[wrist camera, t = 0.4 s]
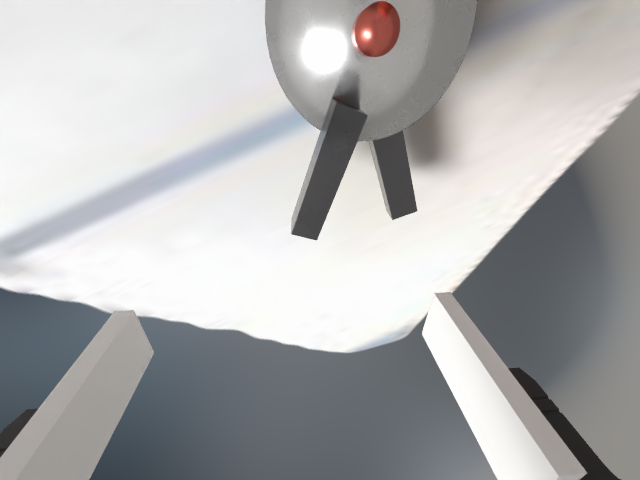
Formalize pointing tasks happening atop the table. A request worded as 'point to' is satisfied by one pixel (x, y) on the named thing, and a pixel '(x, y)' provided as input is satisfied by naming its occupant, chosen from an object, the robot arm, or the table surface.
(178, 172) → the table surface
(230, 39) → the table surface
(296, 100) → the lid
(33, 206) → the table surface
